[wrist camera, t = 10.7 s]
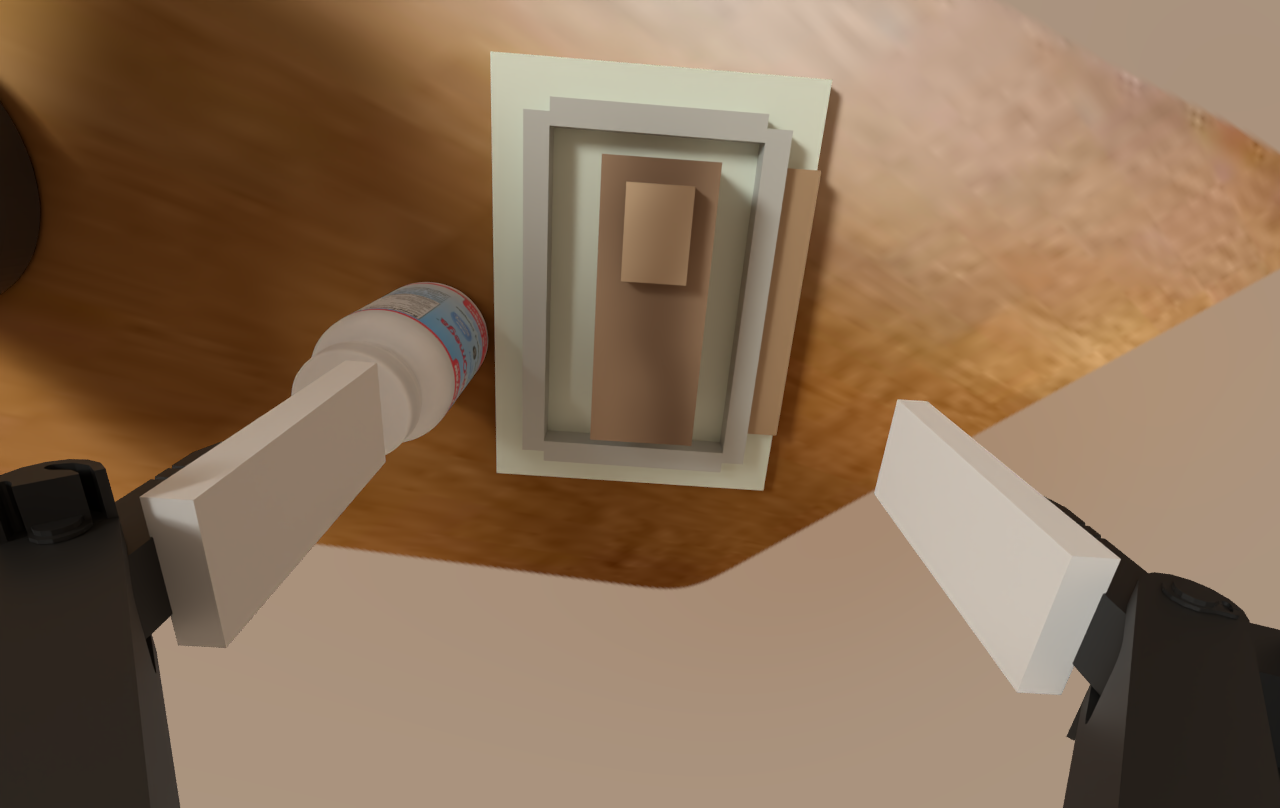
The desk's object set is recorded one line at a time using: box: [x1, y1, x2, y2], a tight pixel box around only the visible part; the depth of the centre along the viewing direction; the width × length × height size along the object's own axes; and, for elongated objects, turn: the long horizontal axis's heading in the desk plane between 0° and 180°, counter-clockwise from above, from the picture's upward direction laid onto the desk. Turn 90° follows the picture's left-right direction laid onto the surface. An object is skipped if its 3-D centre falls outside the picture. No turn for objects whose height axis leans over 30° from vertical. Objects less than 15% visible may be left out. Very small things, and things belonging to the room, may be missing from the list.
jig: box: [490, 51, 832, 491], centre depth 32 cm, size 16×22×2 cm
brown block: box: [590, 154, 722, 446], centre depth 29 cm, size 5×13×6 cm, turn 176°
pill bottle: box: [291, 282, 488, 455], centre depth 29 cm, size 6×6×11 cm
